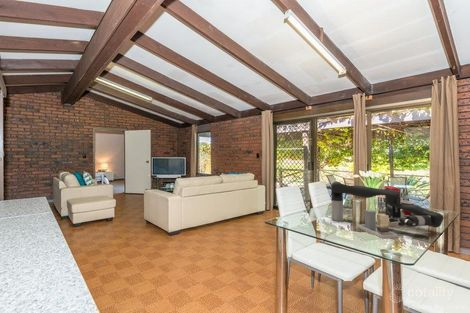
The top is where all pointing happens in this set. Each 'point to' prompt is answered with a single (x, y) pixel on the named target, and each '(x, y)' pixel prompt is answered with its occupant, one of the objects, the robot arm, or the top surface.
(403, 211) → the plastic cup
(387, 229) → the banded wooden block
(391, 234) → the parts tray
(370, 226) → the slate box
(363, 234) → the pad
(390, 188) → the graphics card box
